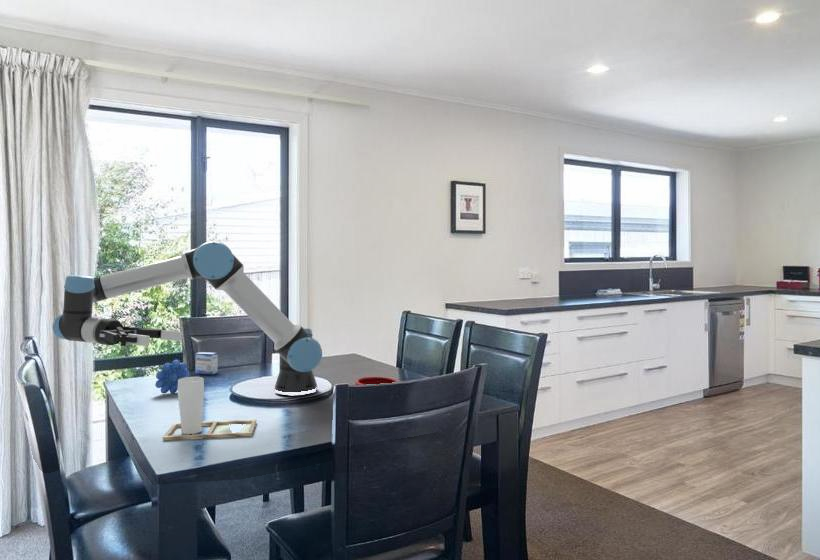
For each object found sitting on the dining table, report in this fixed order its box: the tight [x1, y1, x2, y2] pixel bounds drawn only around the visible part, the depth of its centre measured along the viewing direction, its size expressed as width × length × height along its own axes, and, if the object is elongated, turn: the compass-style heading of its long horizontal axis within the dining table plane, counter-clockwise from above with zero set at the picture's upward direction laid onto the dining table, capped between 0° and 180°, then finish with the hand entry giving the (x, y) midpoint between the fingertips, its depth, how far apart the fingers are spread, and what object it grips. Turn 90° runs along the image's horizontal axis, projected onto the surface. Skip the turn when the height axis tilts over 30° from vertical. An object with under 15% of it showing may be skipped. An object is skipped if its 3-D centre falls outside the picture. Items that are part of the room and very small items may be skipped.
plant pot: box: [354, 376, 399, 386], centre depth 172 cm, size 13×13×12 cm
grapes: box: [154, 359, 190, 394], centre depth 205 cm, size 12×7×12 cm, turn 126°
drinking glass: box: [177, 376, 205, 435], centre depth 159 cm, size 7×7×15 cm
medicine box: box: [195, 351, 219, 375], centre depth 240 cm, size 8×4×9 cm, turn 80°
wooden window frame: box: [162, 418, 258, 441], centre depth 160 cm, size 23×13×1 cm, turn 100°
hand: (165, 338), depth 162 cm, fingers open, 13 cm apart
